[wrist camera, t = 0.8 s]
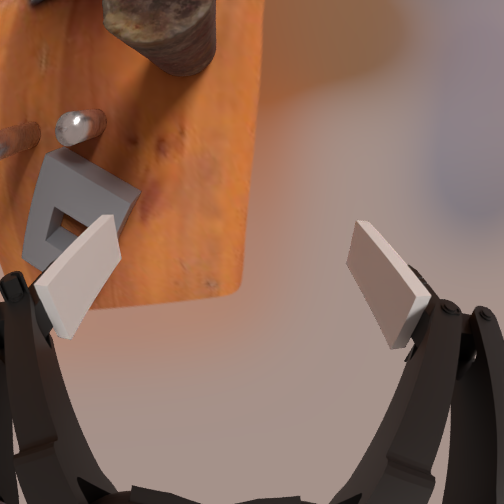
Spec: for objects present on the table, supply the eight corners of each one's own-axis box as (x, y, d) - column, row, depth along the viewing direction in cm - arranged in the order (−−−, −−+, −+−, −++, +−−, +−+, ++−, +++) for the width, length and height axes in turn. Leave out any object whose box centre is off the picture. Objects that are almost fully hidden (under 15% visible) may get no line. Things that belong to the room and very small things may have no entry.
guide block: (64, 146, 29) (45, 153, 25) (141, 191, 35) (131, 203, 30) (36, 242, 36) (21, 257, 32) (100, 281, 41) (90, 300, 37)
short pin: (89, 104, 27) (63, 106, 21) (111, 116, 29) (88, 120, 23) (77, 130, 29) (50, 137, 23) (98, 142, 30) (74, 151, 24)
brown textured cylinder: (224, 30, 25) (228, -48, 8) (211, 80, 29) (198, 47, 11) (164, 24, 24) (109, -44, 6) (152, 75, 27) (75, 48, 10)
